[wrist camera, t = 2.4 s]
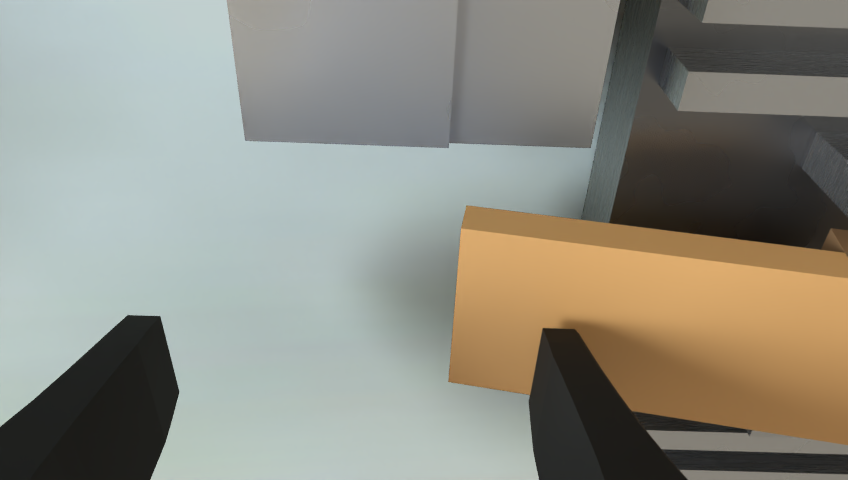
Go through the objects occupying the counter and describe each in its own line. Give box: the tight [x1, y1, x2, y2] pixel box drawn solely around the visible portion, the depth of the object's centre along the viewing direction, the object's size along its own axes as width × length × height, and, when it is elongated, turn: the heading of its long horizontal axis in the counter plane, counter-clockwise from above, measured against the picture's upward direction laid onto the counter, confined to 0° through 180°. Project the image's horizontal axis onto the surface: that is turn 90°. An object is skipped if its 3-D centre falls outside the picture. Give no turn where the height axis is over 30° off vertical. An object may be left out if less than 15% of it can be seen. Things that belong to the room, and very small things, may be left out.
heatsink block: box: [582, 0, 848, 480], centre depth 15 cm, size 14×10×4 cm
